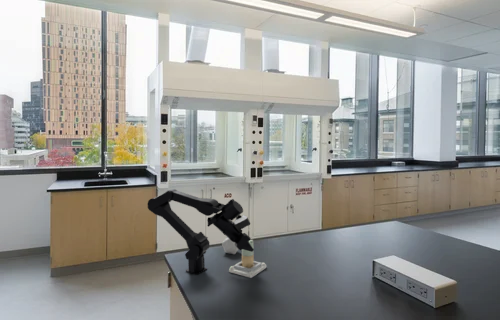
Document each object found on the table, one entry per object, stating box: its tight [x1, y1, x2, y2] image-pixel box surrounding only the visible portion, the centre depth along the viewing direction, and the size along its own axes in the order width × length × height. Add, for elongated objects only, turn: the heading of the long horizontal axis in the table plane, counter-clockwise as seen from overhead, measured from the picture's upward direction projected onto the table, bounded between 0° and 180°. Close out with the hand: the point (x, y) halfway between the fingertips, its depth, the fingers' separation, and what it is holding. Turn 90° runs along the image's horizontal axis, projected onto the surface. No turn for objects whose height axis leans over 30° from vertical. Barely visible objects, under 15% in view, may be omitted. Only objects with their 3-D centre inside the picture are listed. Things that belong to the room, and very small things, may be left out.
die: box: [221, 236, 240, 255], centre depth 155 cm, size 8×9×10 cm
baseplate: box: [228, 260, 267, 279], centre depth 135 cm, size 12×11×2 cm
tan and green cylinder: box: [241, 239, 255, 268], centre depth 134 cm, size 5×5×11 cm
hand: (250, 248), depth 135 cm, fingers open, 5 cm apart
